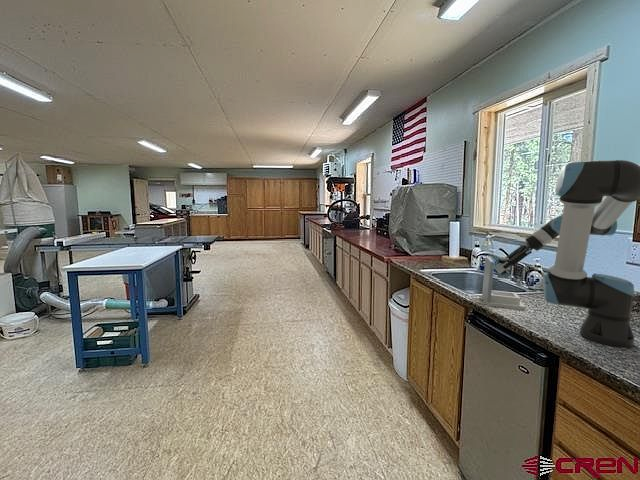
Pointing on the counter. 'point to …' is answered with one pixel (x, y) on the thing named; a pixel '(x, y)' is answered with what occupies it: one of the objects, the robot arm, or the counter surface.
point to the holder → (497, 296)
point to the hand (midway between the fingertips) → (496, 270)
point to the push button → (504, 273)
